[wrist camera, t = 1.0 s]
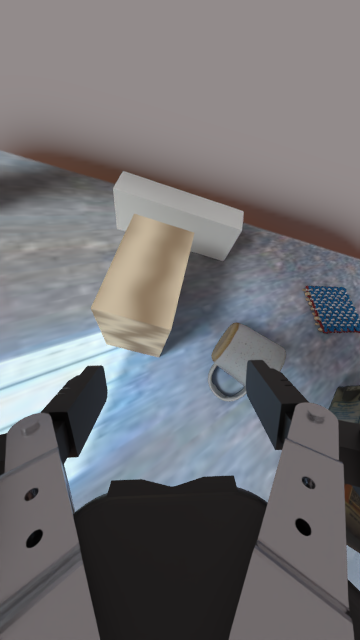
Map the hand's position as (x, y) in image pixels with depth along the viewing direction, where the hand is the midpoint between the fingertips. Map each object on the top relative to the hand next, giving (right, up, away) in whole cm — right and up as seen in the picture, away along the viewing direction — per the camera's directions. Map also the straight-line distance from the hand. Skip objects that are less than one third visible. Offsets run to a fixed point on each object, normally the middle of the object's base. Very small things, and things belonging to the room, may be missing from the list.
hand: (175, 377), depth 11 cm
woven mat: (+31, +5, +31) cm, 44 cm away
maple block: (-5, +5, +22) cm, 23 cm away
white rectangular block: (-1, +20, +30) cm, 36 cm away
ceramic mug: (+9, -5, +21) cm, 24 cm away
